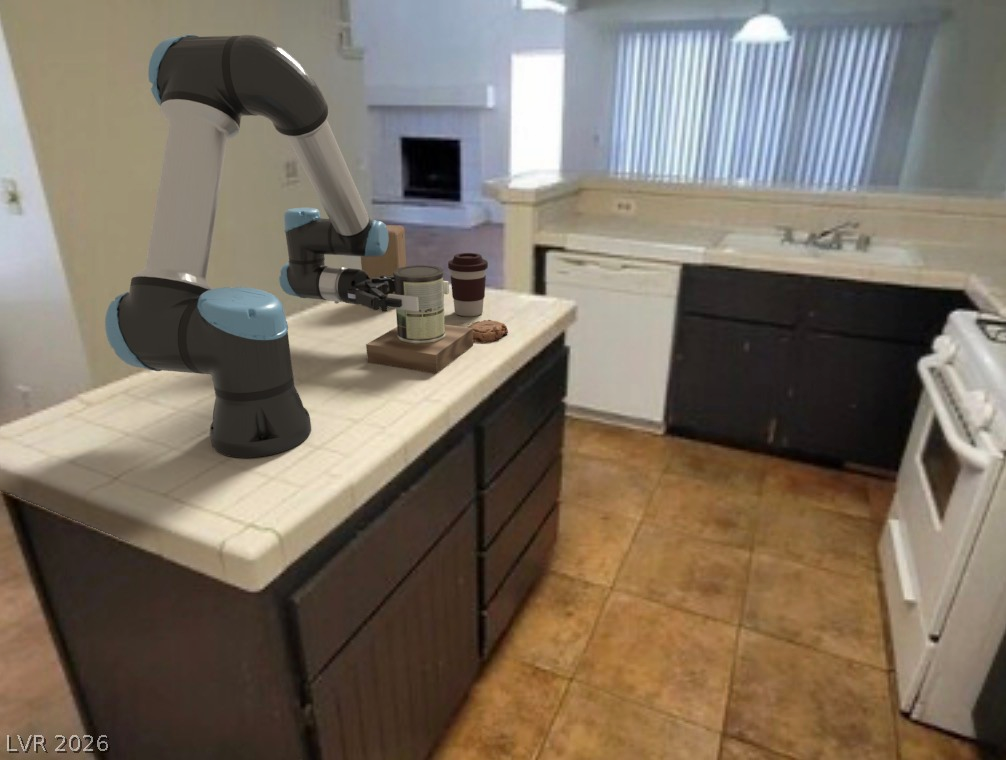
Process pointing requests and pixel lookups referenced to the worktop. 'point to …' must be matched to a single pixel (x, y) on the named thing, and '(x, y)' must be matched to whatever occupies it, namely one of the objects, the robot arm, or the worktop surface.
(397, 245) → the wooden block
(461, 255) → the coffee cup
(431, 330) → the coffee can
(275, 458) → the worktop surface
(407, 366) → the walnut base block
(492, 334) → the cookie
